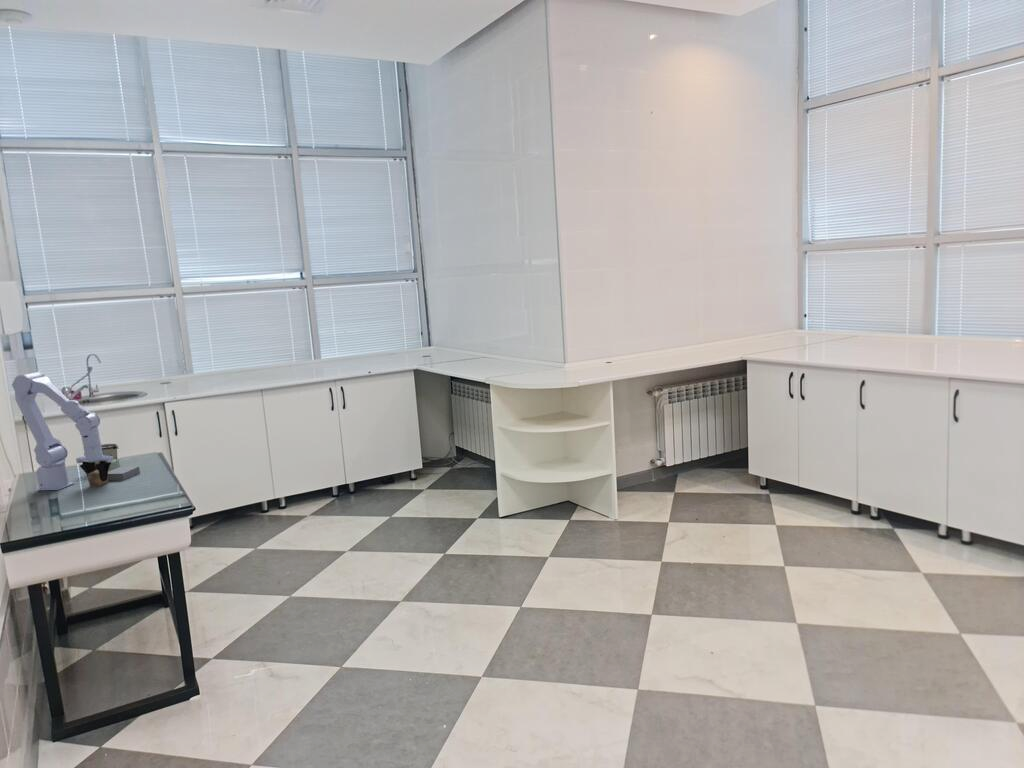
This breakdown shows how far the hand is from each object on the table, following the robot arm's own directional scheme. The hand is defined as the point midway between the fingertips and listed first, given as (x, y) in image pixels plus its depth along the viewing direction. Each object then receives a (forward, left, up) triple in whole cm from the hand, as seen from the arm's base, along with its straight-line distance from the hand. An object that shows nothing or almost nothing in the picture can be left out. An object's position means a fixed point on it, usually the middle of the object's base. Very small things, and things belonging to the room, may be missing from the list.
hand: (98, 480), depth 270 cm
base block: (+2, +9, -2) cm, 10 cm away
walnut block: (0, 0, -1) cm, 1 cm away
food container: (-15, +19, -2) cm, 25 cm away
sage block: (-7, +14, -2) cm, 16 cm away
